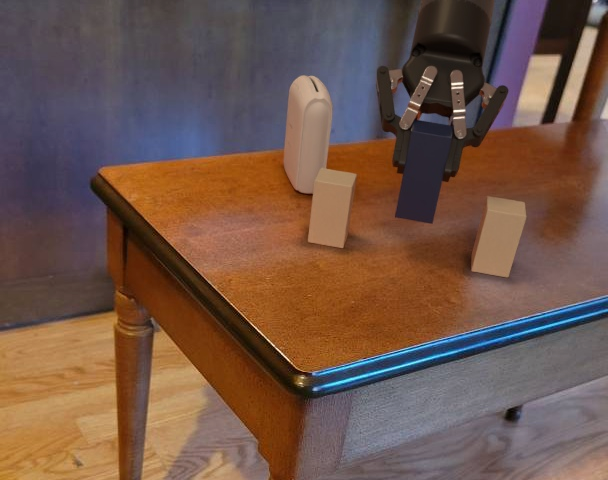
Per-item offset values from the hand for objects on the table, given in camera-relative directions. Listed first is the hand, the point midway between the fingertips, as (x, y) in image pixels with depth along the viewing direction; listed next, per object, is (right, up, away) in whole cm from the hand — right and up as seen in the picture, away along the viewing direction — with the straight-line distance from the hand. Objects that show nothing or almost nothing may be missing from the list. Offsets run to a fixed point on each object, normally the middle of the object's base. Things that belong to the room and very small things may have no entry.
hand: (423, 173), depth 75 cm
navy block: (0, -3, +5) cm, 5 cm away
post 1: (-9, -5, +8) cm, 13 cm away
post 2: (+8, -8, +7) cm, 13 cm away
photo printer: (-12, +6, +21) cm, 25 cm away
